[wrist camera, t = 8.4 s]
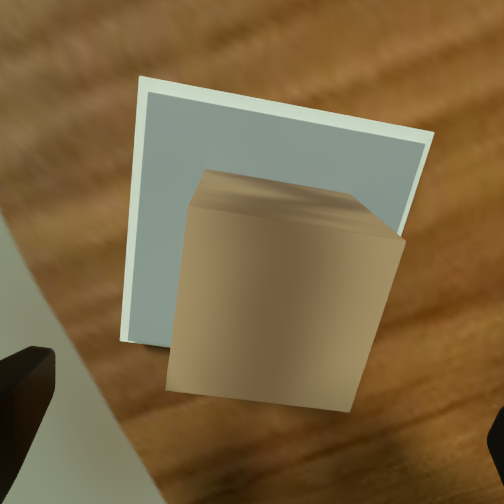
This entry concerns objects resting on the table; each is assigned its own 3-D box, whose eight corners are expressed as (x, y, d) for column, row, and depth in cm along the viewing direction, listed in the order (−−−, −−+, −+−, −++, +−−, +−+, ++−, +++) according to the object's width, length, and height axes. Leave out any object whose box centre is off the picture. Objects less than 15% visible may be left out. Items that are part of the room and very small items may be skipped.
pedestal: (411, 128, 19) (441, 133, 16) (345, 345, 23) (360, 379, 20) (151, 78, 18) (135, 74, 15) (132, 316, 22) (116, 347, 19)
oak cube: (349, 193, 17) (406, 241, 11) (316, 318, 19) (349, 412, 13) (205, 168, 16) (188, 205, 10) (187, 300, 18) (165, 390, 13)
